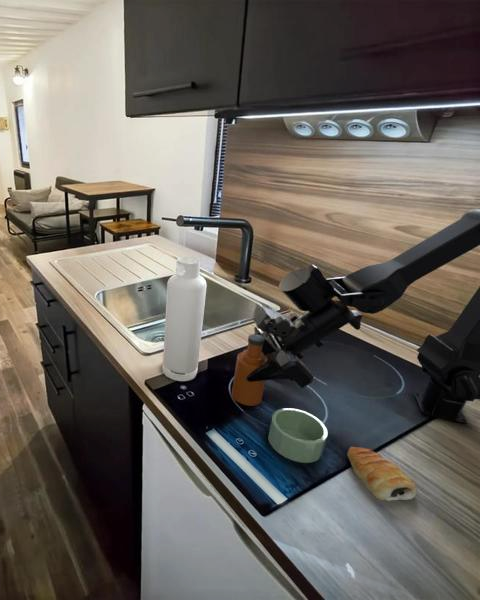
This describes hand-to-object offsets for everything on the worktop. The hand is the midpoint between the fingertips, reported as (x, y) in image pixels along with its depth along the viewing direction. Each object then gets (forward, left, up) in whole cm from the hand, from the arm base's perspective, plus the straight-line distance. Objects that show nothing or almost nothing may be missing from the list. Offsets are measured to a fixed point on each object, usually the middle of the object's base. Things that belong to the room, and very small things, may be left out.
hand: (243, 370), depth 75 cm
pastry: (+12, +22, -7) cm, 26 cm away
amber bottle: (0, +1, -7) cm, 7 cm away
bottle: (-4, -14, -7) cm, 16 cm away
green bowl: (+10, +10, -7) cm, 16 cm away
